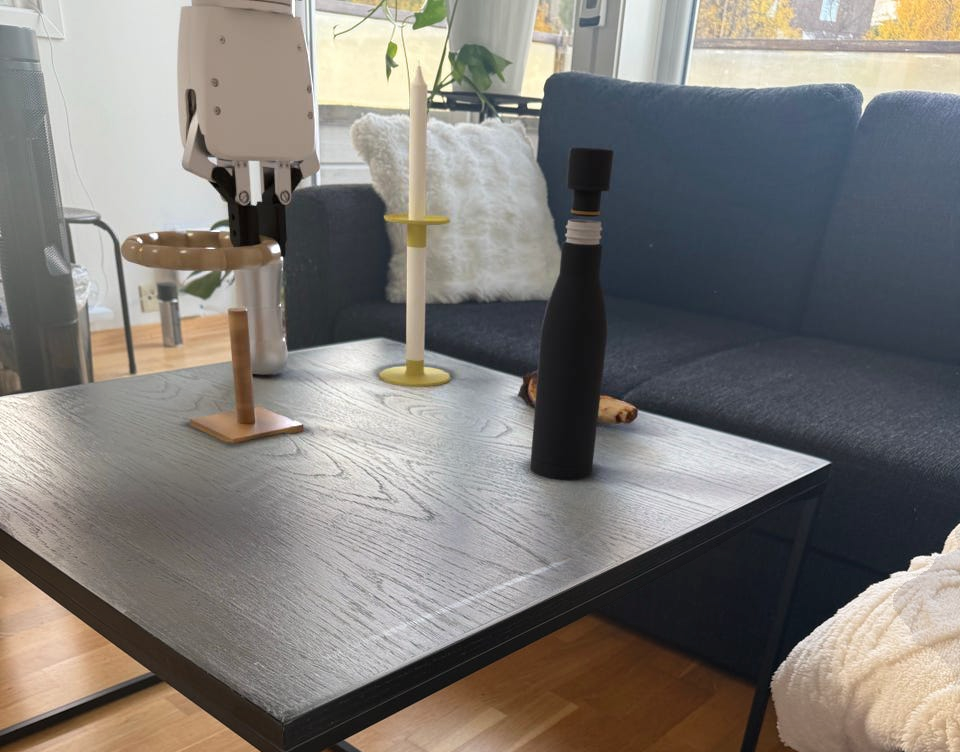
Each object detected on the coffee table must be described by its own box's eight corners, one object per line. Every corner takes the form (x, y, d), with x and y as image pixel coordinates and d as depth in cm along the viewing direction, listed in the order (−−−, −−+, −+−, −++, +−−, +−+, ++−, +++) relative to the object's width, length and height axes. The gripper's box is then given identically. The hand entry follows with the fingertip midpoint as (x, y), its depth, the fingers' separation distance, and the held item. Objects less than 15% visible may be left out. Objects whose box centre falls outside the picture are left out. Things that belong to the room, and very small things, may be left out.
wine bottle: (520, 477, 94) (544, 146, 79) (543, 460, 99) (570, 146, 85) (579, 489, 92) (615, 151, 77) (599, 470, 97) (637, 150, 82)
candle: (462, 375, 130) (474, 64, 112) (429, 390, 122) (436, 58, 104) (401, 365, 134) (403, 62, 115) (365, 379, 126) (360, 56, 107)
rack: (233, 449, 98) (222, 320, 91) (190, 429, 103) (176, 306, 96) (304, 434, 103) (298, 312, 97) (259, 416, 109) (250, 298, 102)
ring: (169, 277, 67) (166, 253, 66) (97, 255, 74) (94, 233, 73) (310, 265, 74) (309, 244, 73) (231, 246, 82) (230, 226, 81)
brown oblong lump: (487, 412, 116) (601, 443, 105) (488, 374, 114) (604, 403, 103) (535, 397, 122) (648, 426, 111) (537, 361, 120) (652, 387, 109)
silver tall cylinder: (241, 367, 128) (229, 210, 118) (291, 368, 129) (282, 212, 119) (236, 379, 123) (222, 215, 113) (287, 380, 123) (278, 217, 113)
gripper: (303, 4, 75) (312, 245, 85) (117, -22, 66) (150, 254, 75) (358, 0, 71) (362, 256, 80) (167, -28, 61) (196, 267, 70)
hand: (259, 254), depth 77 cm, fingers closed on ring, 1 cm apart
